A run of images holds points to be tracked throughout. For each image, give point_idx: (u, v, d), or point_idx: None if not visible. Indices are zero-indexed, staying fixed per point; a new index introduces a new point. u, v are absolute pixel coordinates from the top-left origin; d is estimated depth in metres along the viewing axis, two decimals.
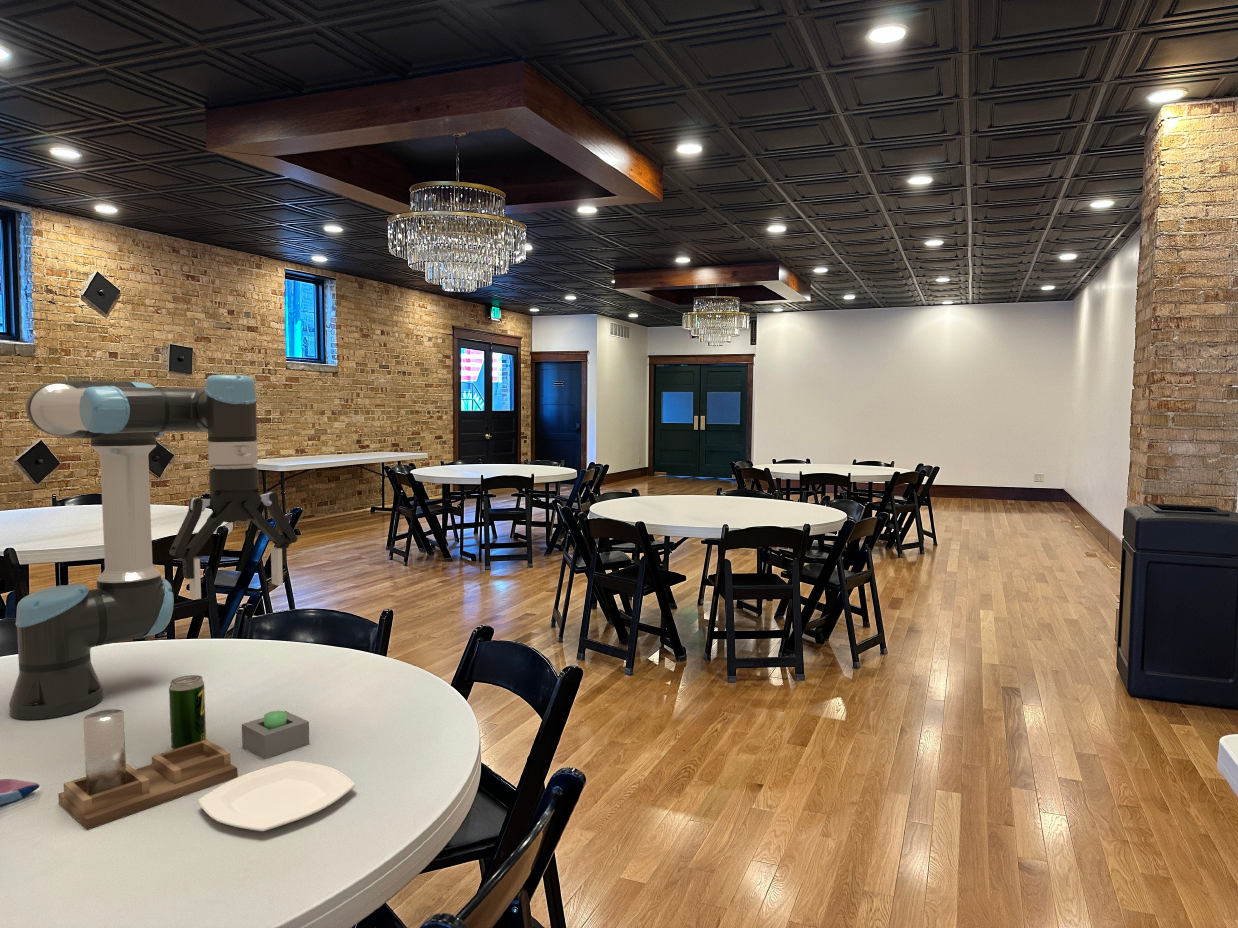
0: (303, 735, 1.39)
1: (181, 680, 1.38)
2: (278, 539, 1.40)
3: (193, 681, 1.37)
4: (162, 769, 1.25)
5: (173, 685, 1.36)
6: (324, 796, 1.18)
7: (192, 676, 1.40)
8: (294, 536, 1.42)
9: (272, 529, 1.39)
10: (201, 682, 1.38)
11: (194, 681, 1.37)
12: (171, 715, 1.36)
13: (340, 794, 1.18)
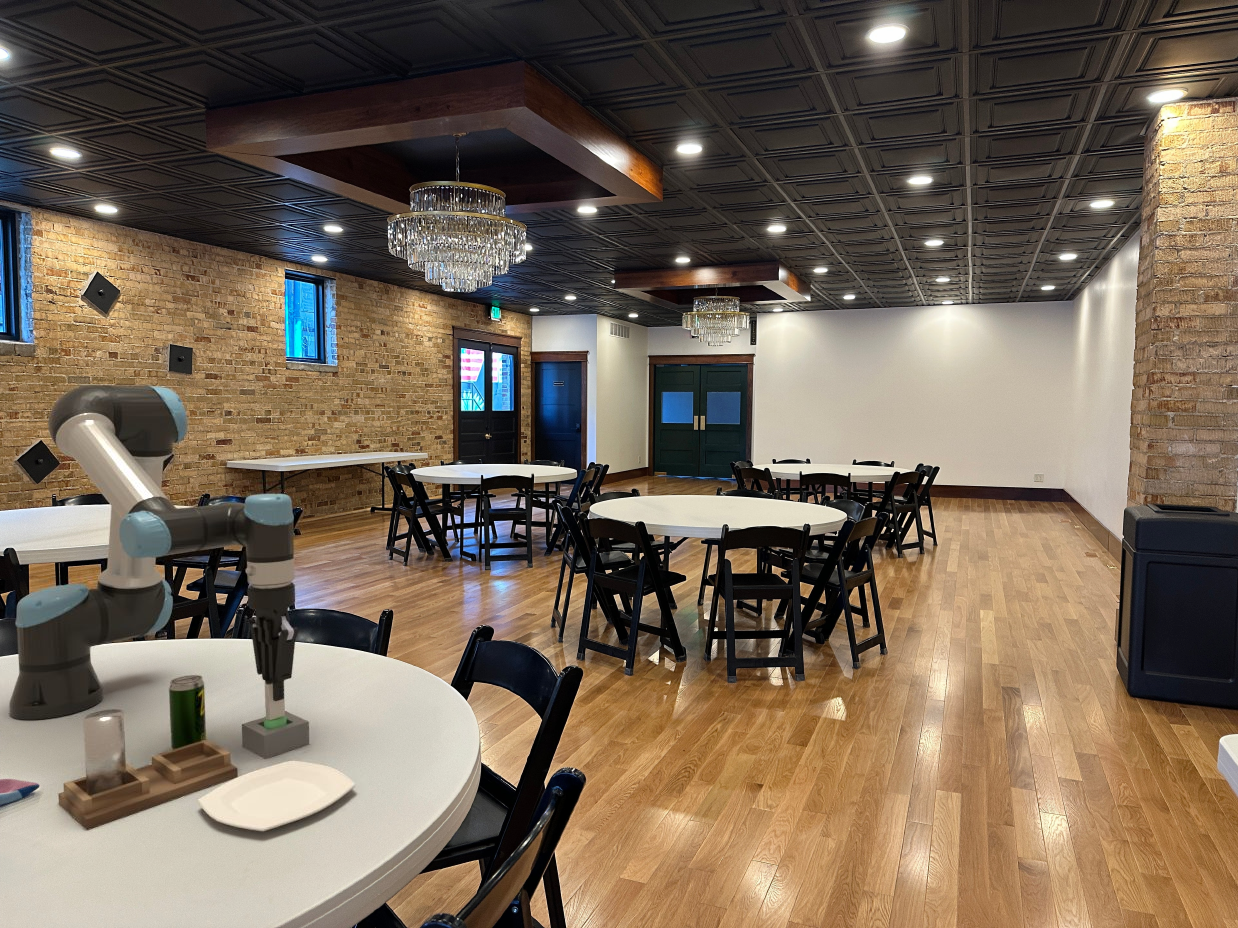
0: (303, 735, 1.39)
1: (181, 680, 1.38)
2: (270, 671, 1.37)
3: (193, 681, 1.37)
4: (162, 769, 1.25)
5: (173, 685, 1.36)
6: (324, 796, 1.18)
7: (192, 676, 1.40)
8: (277, 676, 1.36)
9: (271, 660, 1.37)
10: (201, 682, 1.38)
11: (194, 681, 1.37)
12: (171, 715, 1.36)
13: (340, 794, 1.18)
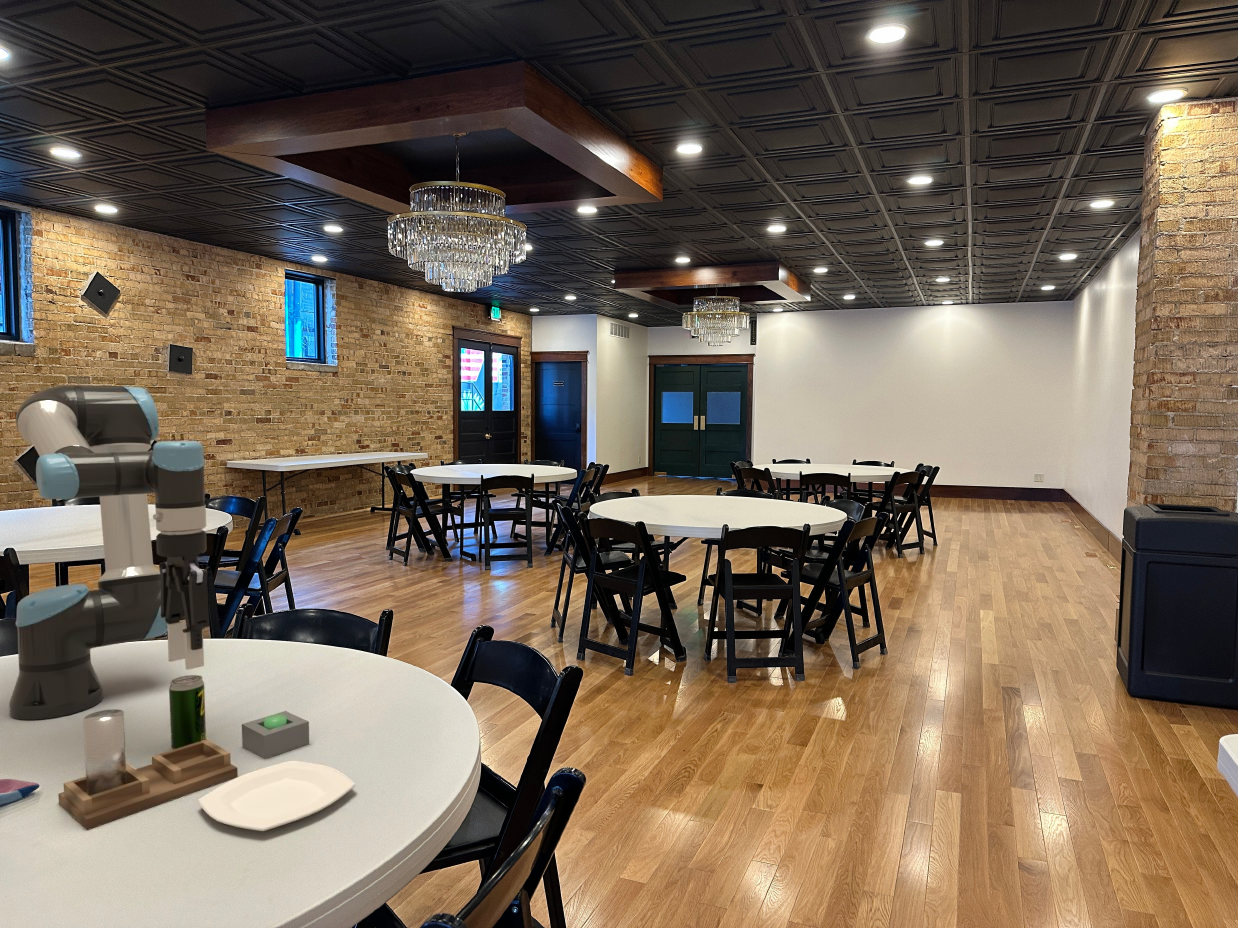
0: (303, 735, 1.39)
1: (181, 680, 1.38)
2: (186, 620, 1.34)
3: (193, 681, 1.37)
4: (162, 769, 1.25)
5: (173, 685, 1.36)
6: (324, 796, 1.18)
7: (192, 676, 1.40)
8: (193, 623, 1.33)
9: (185, 607, 1.34)
10: (201, 682, 1.38)
11: (194, 681, 1.37)
12: (171, 715, 1.36)
13: (340, 794, 1.18)
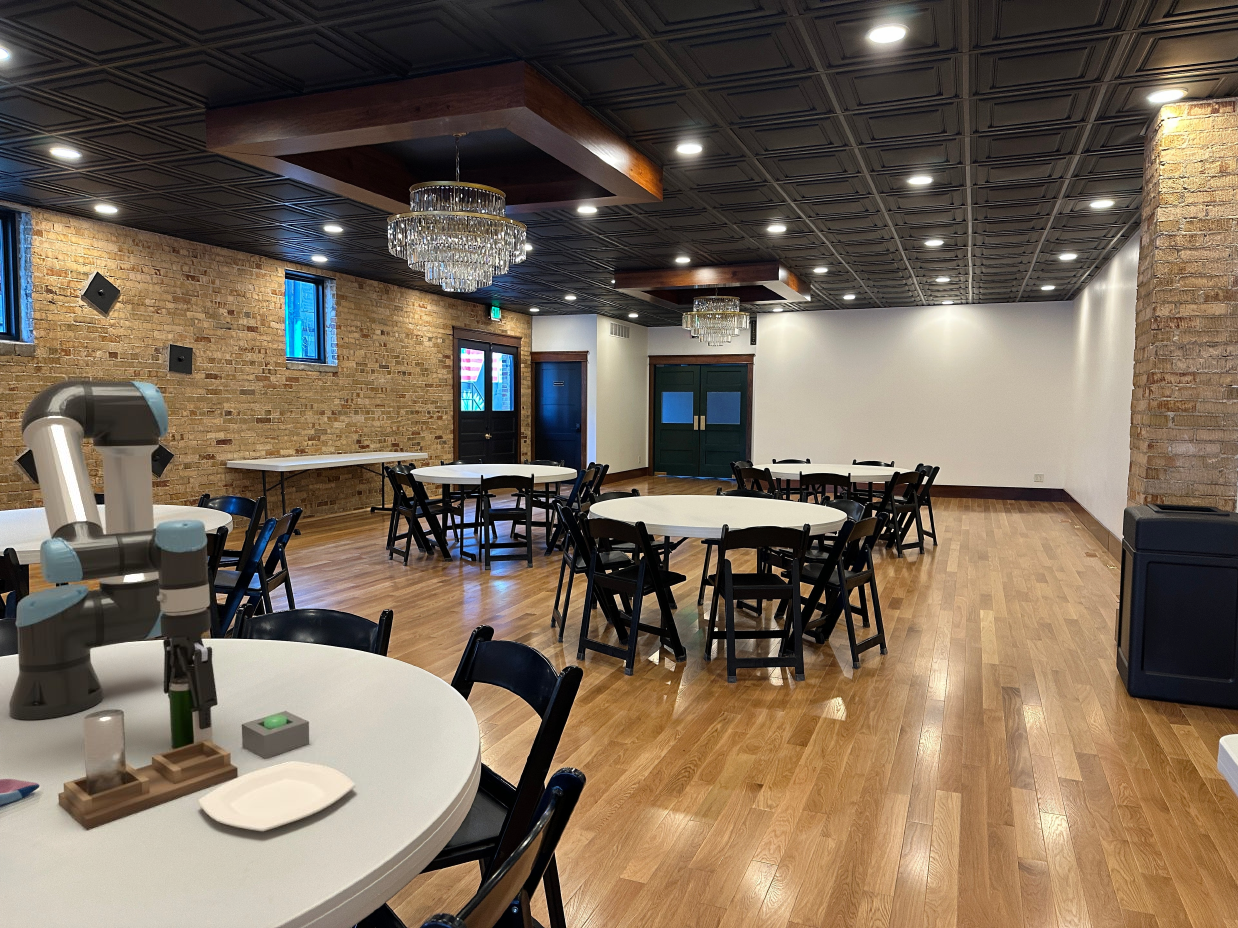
0: (303, 735, 1.39)
1: (181, 680, 1.38)
2: (194, 699, 1.34)
3: None
4: (162, 769, 1.25)
5: (173, 685, 1.36)
6: (324, 796, 1.18)
7: None
8: (201, 703, 1.32)
9: (192, 686, 1.34)
10: None
11: None
12: (171, 715, 1.36)
13: (340, 794, 1.18)
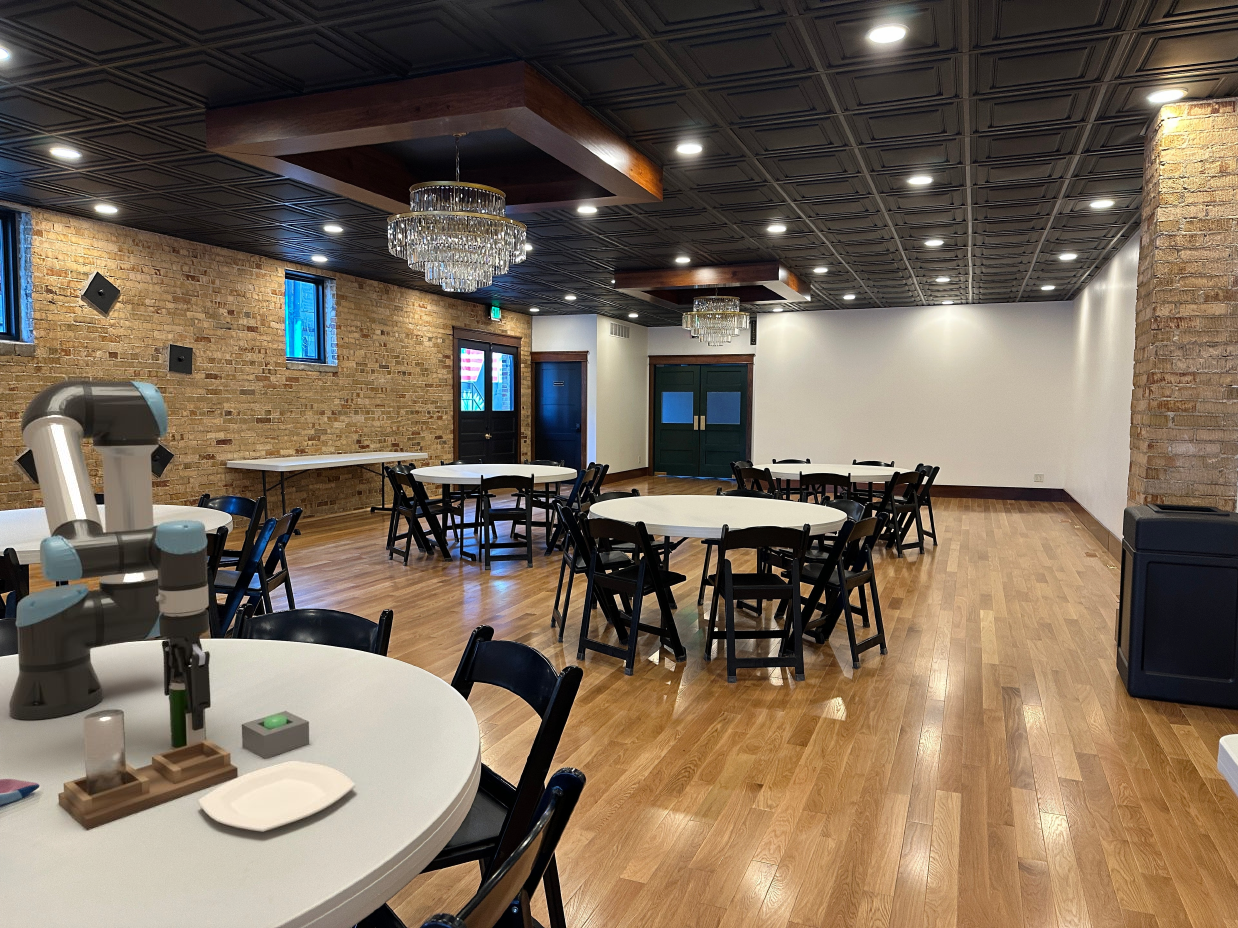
0: (303, 735, 1.39)
1: (181, 679, 1.38)
2: (188, 700, 1.35)
3: None
4: (162, 769, 1.25)
5: (173, 684, 1.36)
6: (324, 796, 1.18)
7: None
8: (195, 705, 1.34)
9: (187, 688, 1.35)
10: None
11: None
12: (171, 714, 1.37)
13: (340, 794, 1.18)
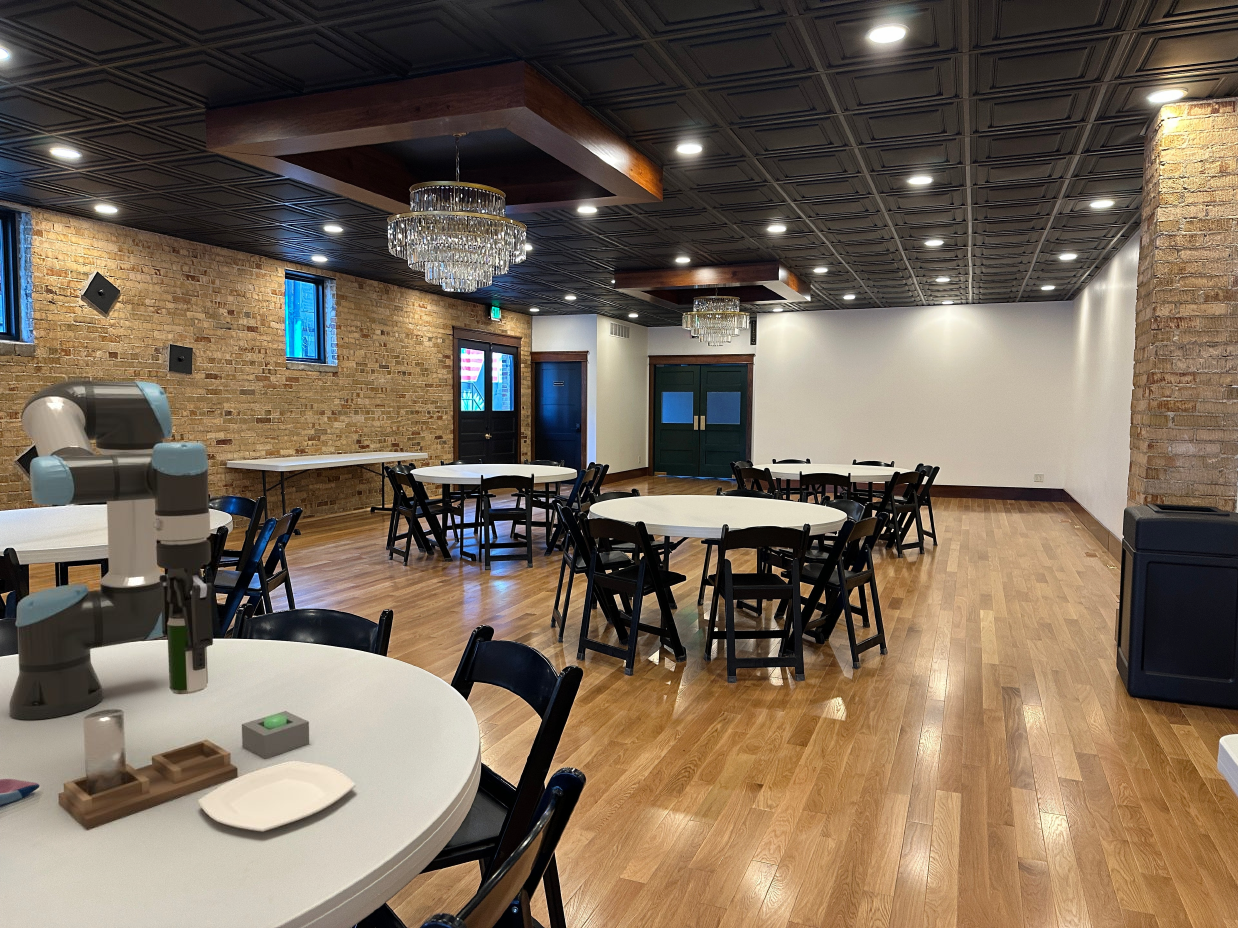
0: (303, 735, 1.39)
1: (180, 615, 1.26)
2: (188, 637, 1.23)
3: None
4: (162, 769, 1.25)
5: (171, 620, 1.24)
6: (324, 796, 1.18)
7: None
8: (195, 642, 1.22)
9: (187, 624, 1.23)
10: None
11: None
12: (169, 653, 1.25)
13: (340, 794, 1.18)
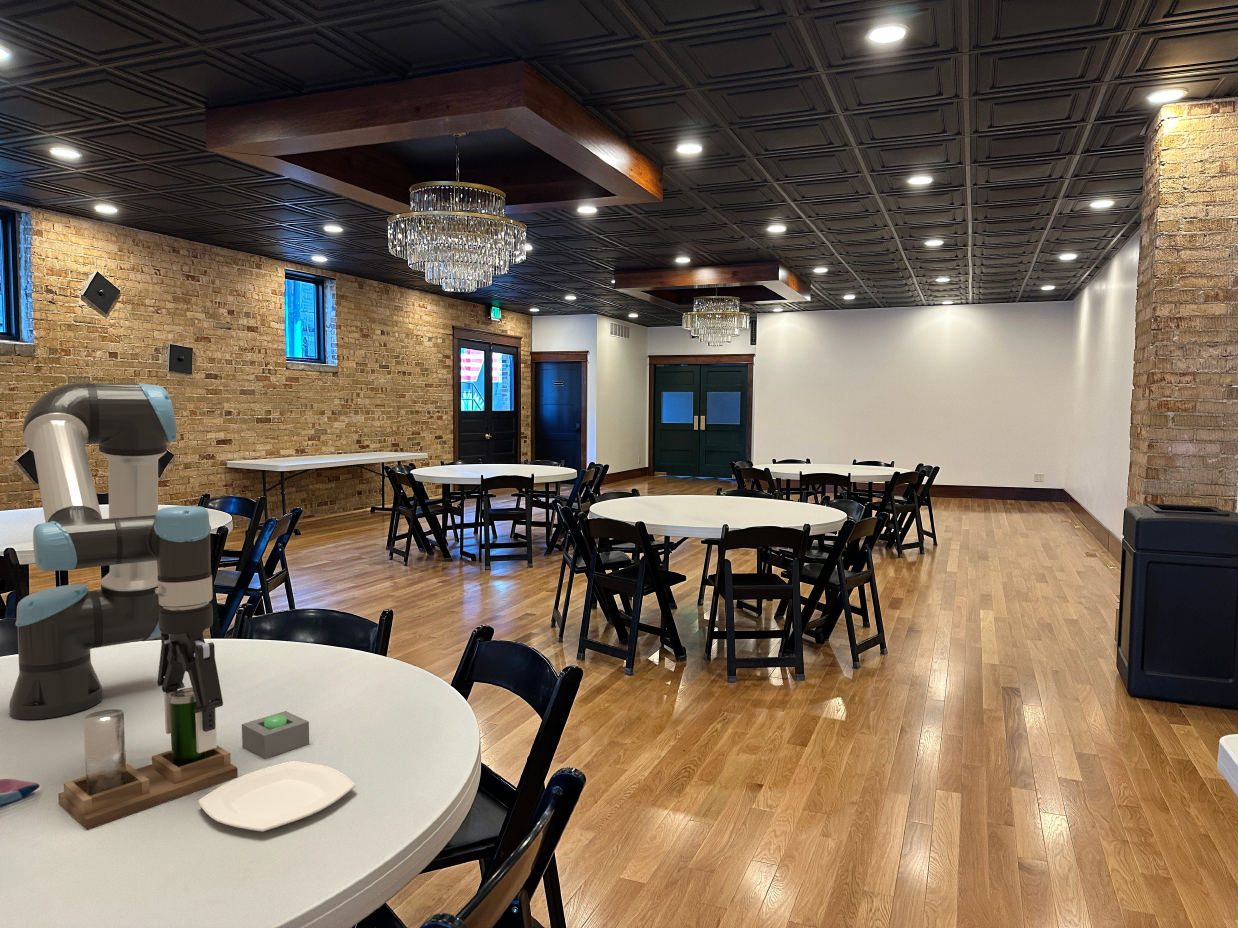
0: (303, 735, 1.39)
1: (182, 692, 1.27)
2: (197, 699, 1.22)
3: None
4: (162, 769, 1.25)
5: (174, 698, 1.25)
6: (324, 796, 1.18)
7: None
8: (205, 703, 1.21)
9: (194, 685, 1.23)
10: None
11: None
12: (172, 731, 1.26)
13: (340, 794, 1.18)
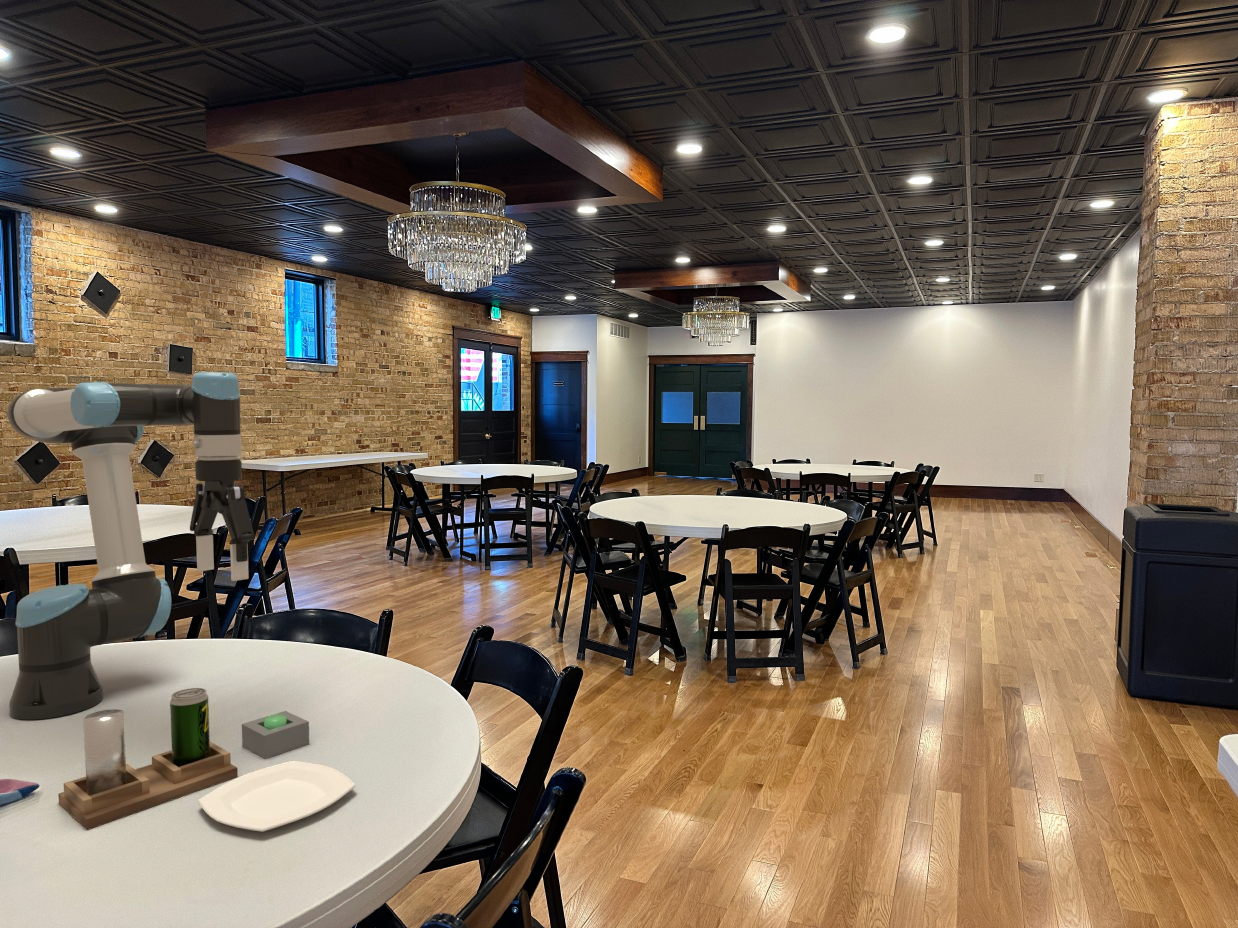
0: (303, 735, 1.39)
1: (183, 694, 1.27)
2: (231, 534, 1.40)
3: (196, 695, 1.26)
4: (162, 769, 1.25)
5: (174, 699, 1.25)
6: (324, 796, 1.18)
7: (195, 689, 1.29)
8: (239, 535, 1.38)
9: (228, 523, 1.40)
10: (205, 696, 1.27)
11: (197, 695, 1.26)
12: (172, 732, 1.25)
13: (340, 794, 1.18)
